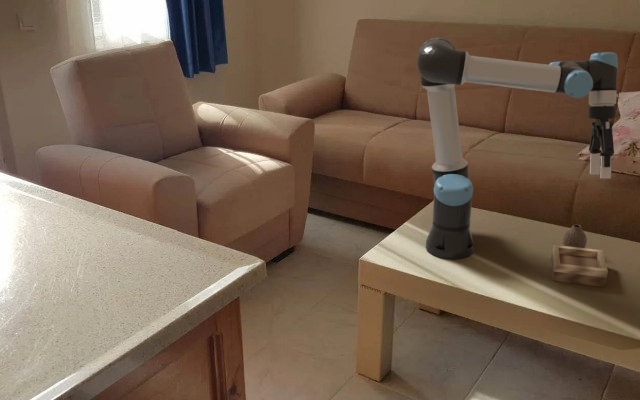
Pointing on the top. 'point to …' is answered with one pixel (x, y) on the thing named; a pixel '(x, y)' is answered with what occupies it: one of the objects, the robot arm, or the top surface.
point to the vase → (575, 237)
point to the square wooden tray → (578, 265)
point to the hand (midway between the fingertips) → (599, 176)
